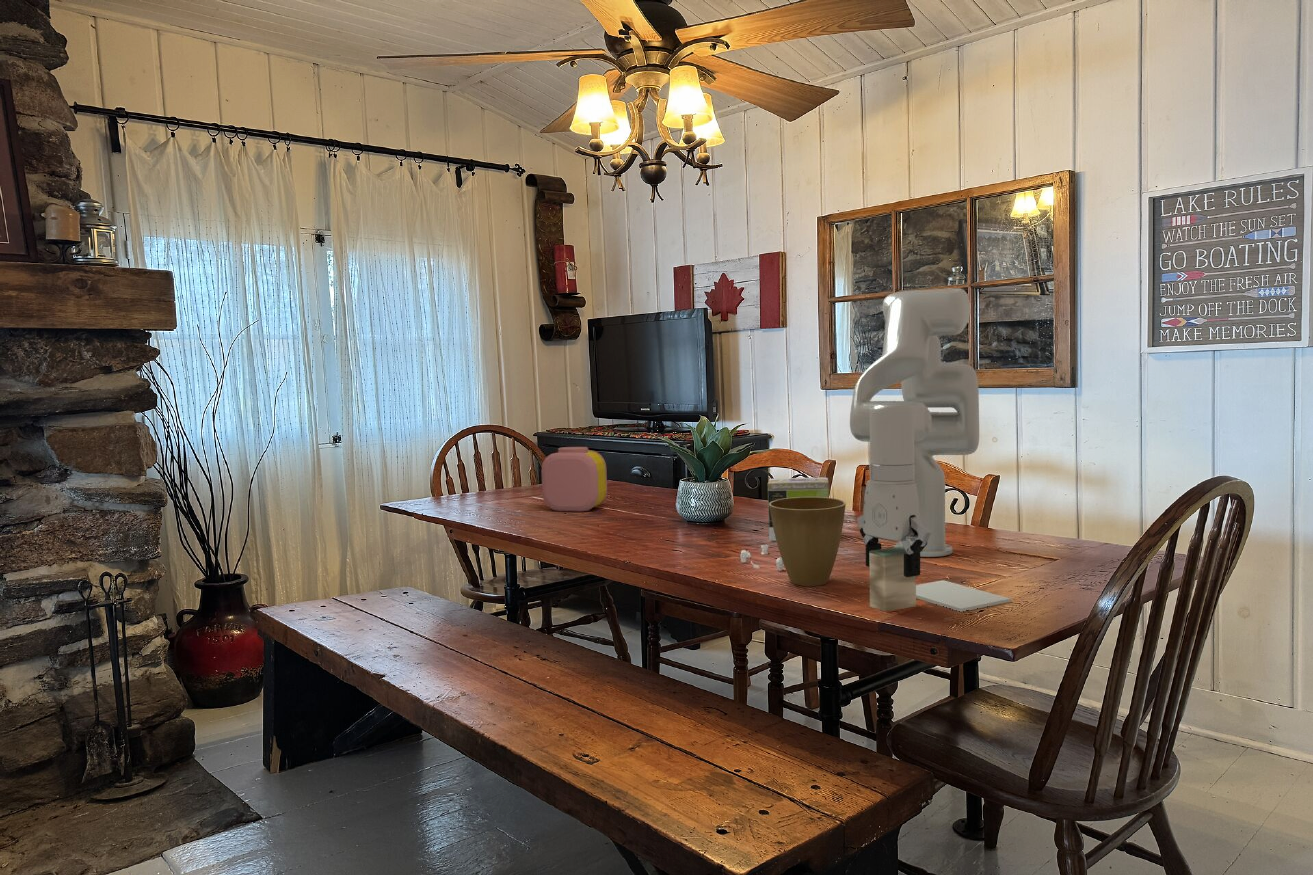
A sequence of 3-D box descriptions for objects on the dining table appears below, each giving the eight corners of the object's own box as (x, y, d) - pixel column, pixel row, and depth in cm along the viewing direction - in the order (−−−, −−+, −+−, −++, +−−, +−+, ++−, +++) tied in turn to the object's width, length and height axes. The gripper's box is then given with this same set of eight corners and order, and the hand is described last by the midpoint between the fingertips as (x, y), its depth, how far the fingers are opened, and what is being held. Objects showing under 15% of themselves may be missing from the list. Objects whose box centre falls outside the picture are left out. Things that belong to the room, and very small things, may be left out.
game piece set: (811, 576, 178) (810, 558, 177) (724, 567, 188) (723, 550, 188) (843, 557, 194) (842, 541, 194) (761, 550, 205) (761, 534, 204)
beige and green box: (869, 606, 153) (869, 551, 153) (900, 600, 157) (899, 546, 156) (885, 611, 150) (884, 555, 149) (916, 605, 153) (915, 550, 152)
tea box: (829, 534, 220) (829, 476, 219) (830, 542, 210) (830, 481, 209) (770, 533, 222) (769, 476, 221) (768, 541, 213) (767, 482, 211)
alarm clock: (609, 507, 273) (607, 445, 271) (597, 512, 262) (595, 449, 261) (554, 506, 278) (552, 446, 277) (540, 511, 268) (538, 449, 266)
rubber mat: (895, 591, 163) (895, 588, 163) (943, 583, 168) (943, 580, 168) (960, 612, 148) (960, 608, 148) (1010, 601, 154) (1010, 598, 154)
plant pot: (781, 571, 182) (779, 495, 180) (852, 575, 176) (851, 497, 175) (761, 588, 168) (760, 506, 167) (838, 594, 162) (837, 509, 161)
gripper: (843, 471, 157) (843, 564, 158) (910, 479, 142) (911, 583, 143) (875, 468, 161) (875, 560, 162) (944, 476, 145) (944, 577, 146)
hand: (892, 570), depth 152 cm, fingers open, 9 cm apart
